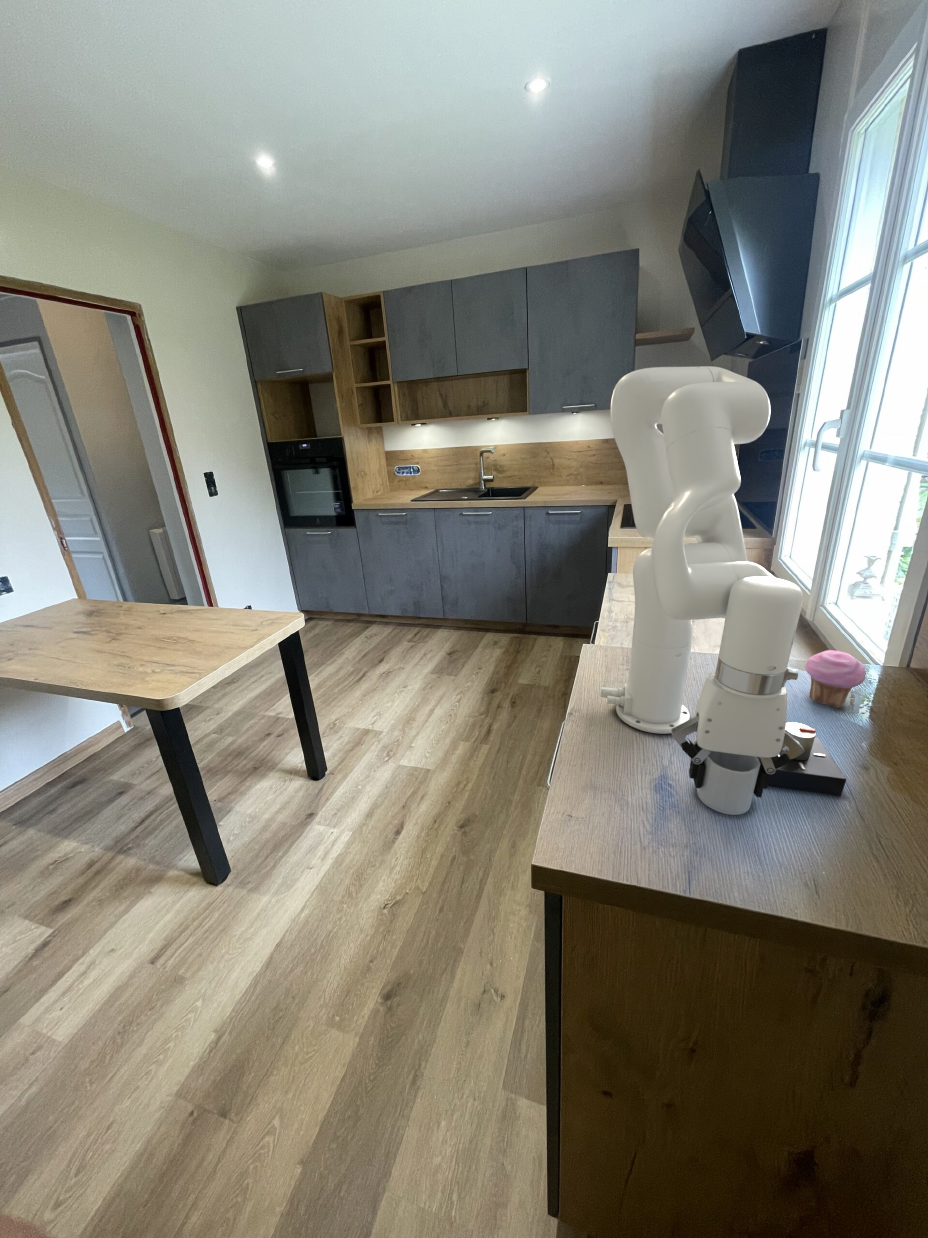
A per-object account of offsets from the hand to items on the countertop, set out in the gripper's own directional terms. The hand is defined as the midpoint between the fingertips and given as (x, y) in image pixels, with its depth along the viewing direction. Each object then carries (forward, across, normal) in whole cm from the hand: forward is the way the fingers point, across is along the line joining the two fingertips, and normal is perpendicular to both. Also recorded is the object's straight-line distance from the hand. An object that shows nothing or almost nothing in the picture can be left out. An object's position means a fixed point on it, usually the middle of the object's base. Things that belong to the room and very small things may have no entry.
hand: (725, 785), depth 68 cm
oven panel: (+2, -11, -9) cm, 14 cm away
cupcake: (+2, -24, -32) cm, 40 cm away
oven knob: (-1, -11, -9) cm, 14 cm away
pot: (+2, 0, 0) cm, 2 cm away
